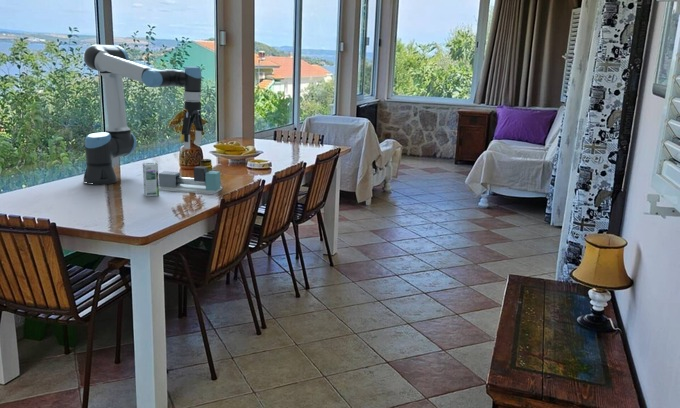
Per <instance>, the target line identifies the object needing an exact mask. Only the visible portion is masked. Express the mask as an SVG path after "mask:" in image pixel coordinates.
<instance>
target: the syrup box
mask: <svg viewBox="0 0 680 408" xmlns="http://www.w3.org/2000/svg"><path fill="white" fill-rule="evenodd" d="M142 178H143V192H144V193H143V194H144V196H145V197H159V196H160V190H159V164H158V162H143V163H142Z"/></svg>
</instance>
